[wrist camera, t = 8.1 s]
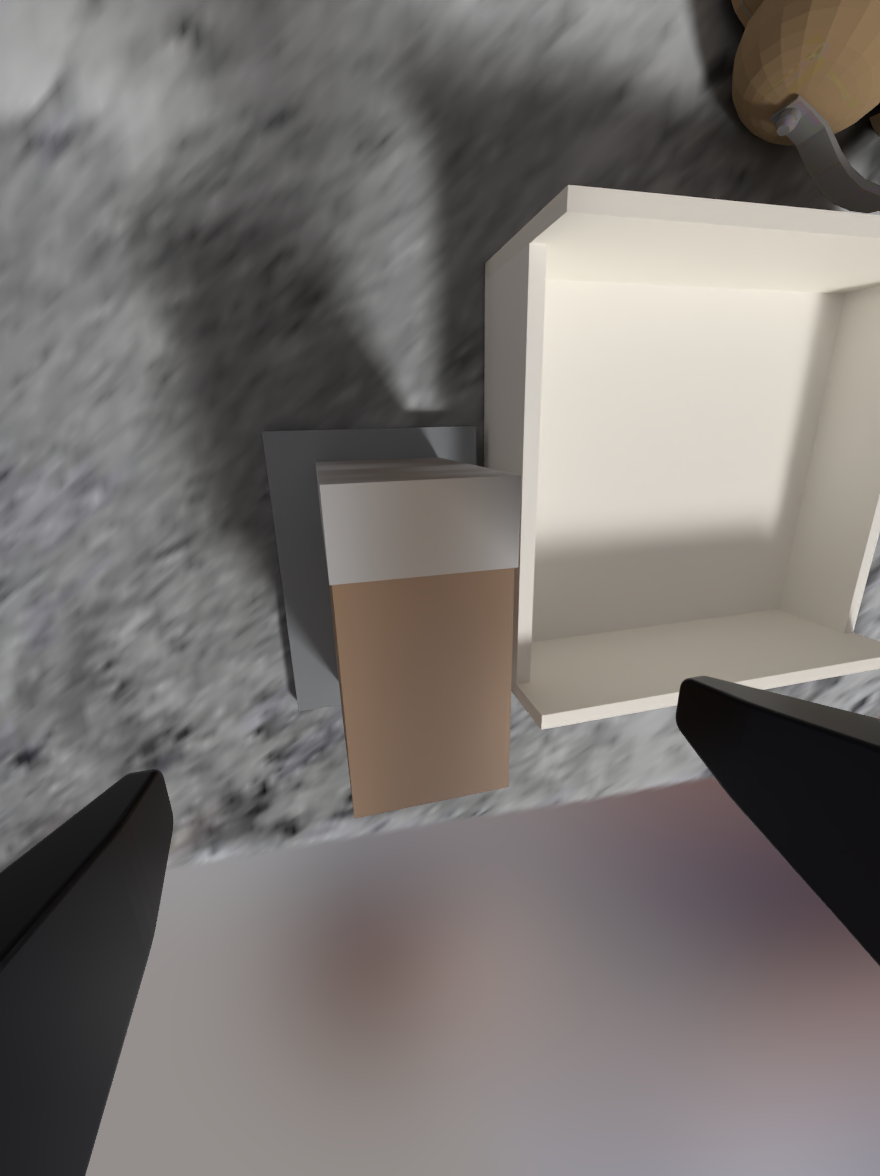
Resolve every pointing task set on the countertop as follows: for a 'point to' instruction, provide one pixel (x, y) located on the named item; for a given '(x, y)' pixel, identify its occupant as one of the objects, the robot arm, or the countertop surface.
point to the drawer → (684, 444)
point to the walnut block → (421, 624)
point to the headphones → (811, 84)
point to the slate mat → (303, 533)
